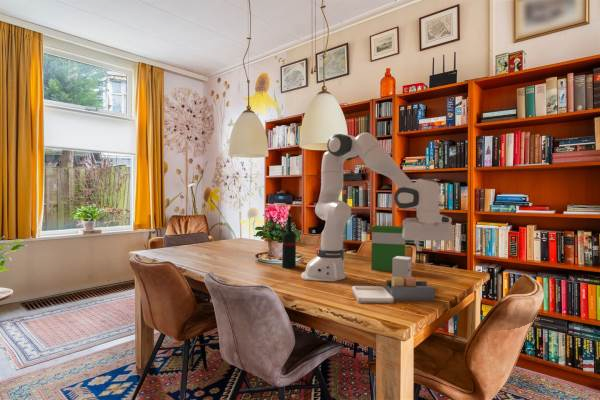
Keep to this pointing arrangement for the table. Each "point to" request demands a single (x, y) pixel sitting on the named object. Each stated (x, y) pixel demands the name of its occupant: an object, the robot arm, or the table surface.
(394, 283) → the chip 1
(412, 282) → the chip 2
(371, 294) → the tray
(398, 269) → the supplement box
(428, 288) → the slot block
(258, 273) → the table surface
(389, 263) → the hardback book
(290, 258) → the wine bottle
